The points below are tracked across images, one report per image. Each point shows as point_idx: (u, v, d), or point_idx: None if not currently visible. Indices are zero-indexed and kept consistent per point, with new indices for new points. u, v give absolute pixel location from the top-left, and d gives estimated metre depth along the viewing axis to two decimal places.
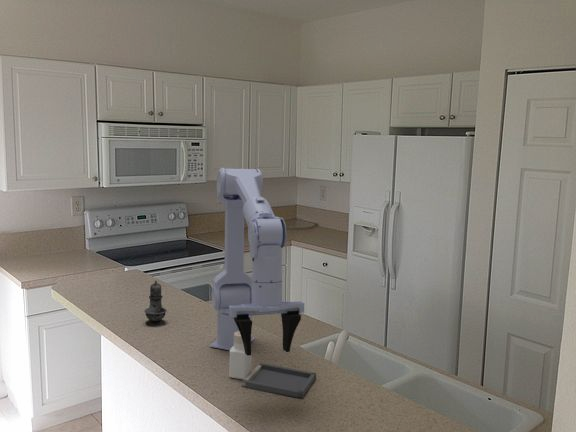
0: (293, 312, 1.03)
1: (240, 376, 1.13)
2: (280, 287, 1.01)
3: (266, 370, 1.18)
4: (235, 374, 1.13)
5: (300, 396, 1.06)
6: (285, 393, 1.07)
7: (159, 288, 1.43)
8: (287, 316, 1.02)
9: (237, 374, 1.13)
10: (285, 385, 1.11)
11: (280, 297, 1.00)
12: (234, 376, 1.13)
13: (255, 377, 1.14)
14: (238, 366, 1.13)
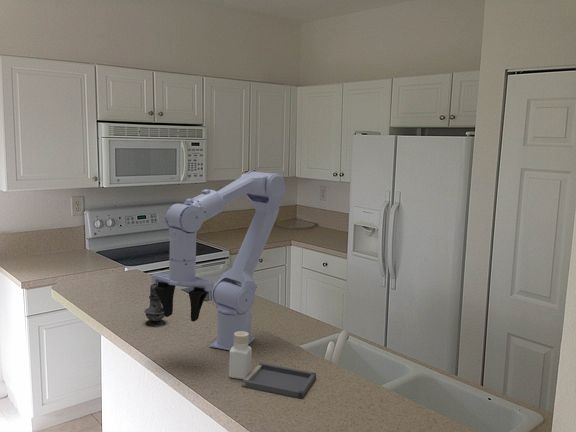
0: (198, 289, 1.16)
1: (240, 376, 1.13)
2: (186, 266, 1.15)
3: (266, 370, 1.18)
4: (235, 374, 1.13)
5: (300, 396, 1.06)
6: (285, 393, 1.07)
7: None
8: None
9: (237, 374, 1.13)
10: (285, 385, 1.11)
11: (185, 274, 1.15)
12: (234, 376, 1.13)
13: (255, 377, 1.14)
14: (238, 366, 1.13)
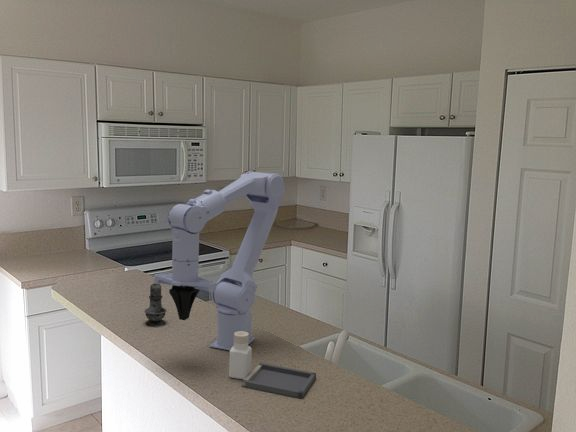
0: (188, 288, 1.17)
1: (240, 376, 1.13)
2: (189, 266, 1.15)
3: (266, 370, 1.18)
4: (235, 374, 1.13)
5: (300, 396, 1.06)
6: (285, 393, 1.07)
7: (159, 288, 1.43)
8: None
9: (237, 374, 1.13)
10: (285, 385, 1.11)
11: (187, 275, 1.15)
12: (234, 376, 1.13)
13: (255, 377, 1.14)
14: (238, 366, 1.13)
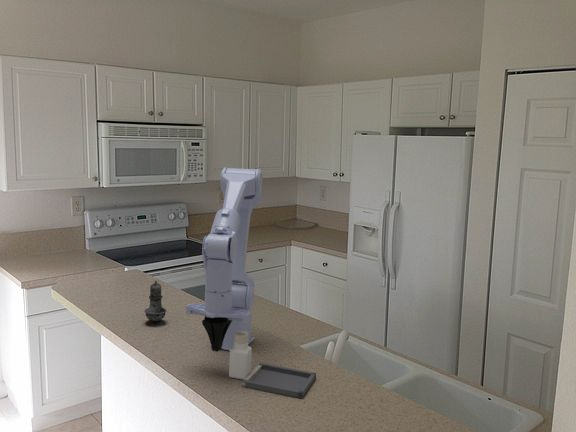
0: (222, 319, 1.14)
1: (240, 376, 1.13)
2: (222, 297, 1.12)
3: (266, 370, 1.18)
4: (235, 374, 1.13)
5: (300, 396, 1.06)
6: (285, 393, 1.07)
7: (159, 288, 1.43)
8: None
9: (237, 374, 1.13)
10: (285, 385, 1.11)
11: (221, 306, 1.12)
12: (234, 376, 1.13)
13: (255, 377, 1.14)
14: (238, 366, 1.13)
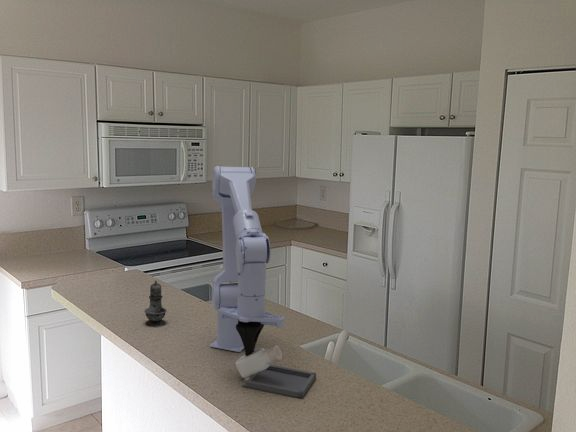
0: (255, 323, 1.12)
1: (242, 373, 1.13)
2: (256, 301, 1.10)
3: (266, 370, 1.18)
4: (241, 368, 1.13)
5: (300, 396, 1.06)
6: (285, 393, 1.07)
7: (159, 288, 1.43)
8: None
9: (242, 370, 1.13)
10: (285, 385, 1.11)
11: (255, 310, 1.10)
12: (238, 367, 1.13)
13: (255, 377, 1.14)
14: (249, 367, 1.12)
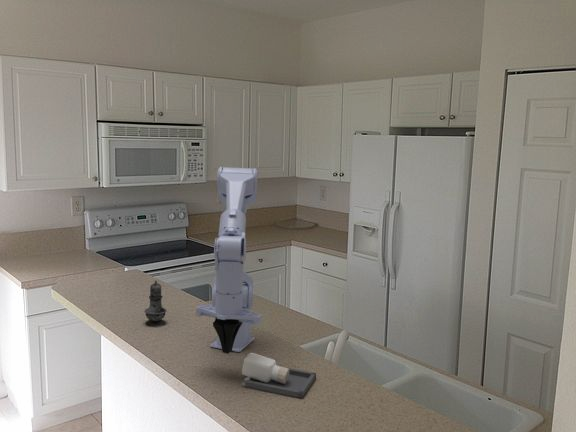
0: (233, 320, 1.13)
1: (245, 370, 1.13)
2: (234, 299, 1.11)
3: None
4: (246, 366, 1.12)
5: (300, 396, 1.06)
6: (285, 393, 1.07)
7: (159, 288, 1.43)
8: None
9: (246, 369, 1.12)
10: (285, 385, 1.11)
11: (232, 308, 1.12)
12: (244, 364, 1.12)
13: None
14: (254, 372, 1.12)
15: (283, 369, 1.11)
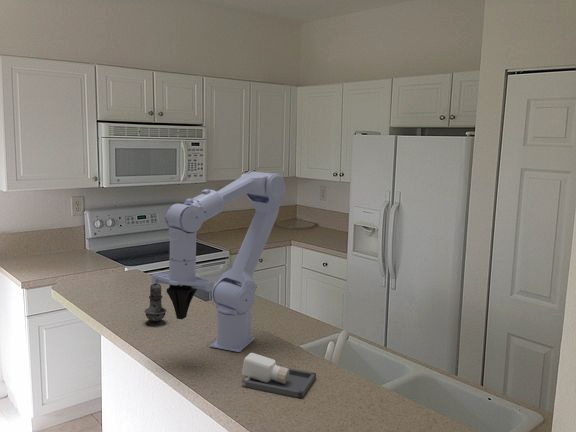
0: (186, 287, 1.17)
1: (245, 370, 1.13)
2: (186, 266, 1.15)
3: None
4: (246, 366, 1.12)
5: (300, 396, 1.06)
6: (285, 393, 1.07)
7: (159, 288, 1.43)
8: None
9: (246, 369, 1.12)
10: (285, 385, 1.11)
11: (185, 274, 1.15)
12: (245, 364, 1.12)
13: None
14: (254, 372, 1.12)
15: (283, 369, 1.11)
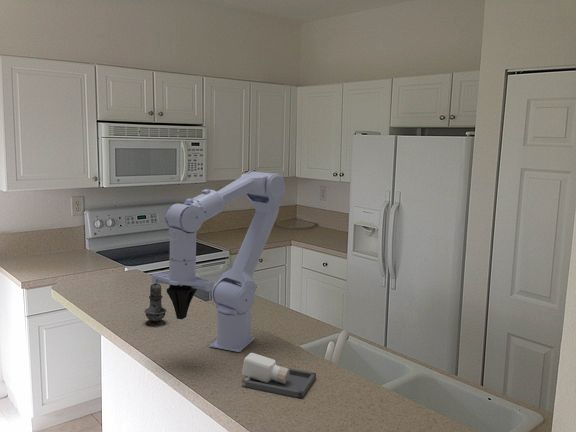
0: (186, 287, 1.17)
1: (245, 370, 1.13)
2: (186, 266, 1.15)
3: None
4: (246, 366, 1.12)
5: (300, 396, 1.06)
6: (285, 393, 1.07)
7: (159, 288, 1.43)
8: None
9: (246, 369, 1.12)
10: (285, 385, 1.11)
11: (185, 274, 1.15)
12: (245, 364, 1.12)
13: None
14: (254, 372, 1.12)
15: (283, 369, 1.11)
